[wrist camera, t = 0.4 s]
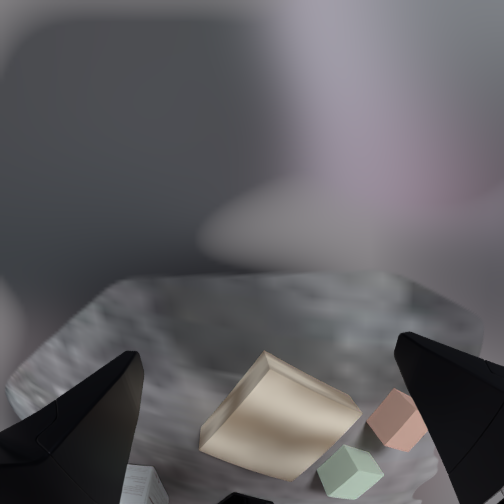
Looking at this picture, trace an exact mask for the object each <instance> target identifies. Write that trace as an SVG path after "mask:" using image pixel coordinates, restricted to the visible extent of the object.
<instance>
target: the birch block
mask: <svg viewBox="0 0 504 504" xmlns="http://www.w3.org/2000/svg"><path fill="white" fill-rule="evenodd" d="M362 414H363V413H362V412H361V411H360V409H359V408H358V407H357V405H356V404H355V403H354V401H353V400H352V399H351V397H350V396H349V395H347V394H345V393H343V392H341V391H339V390H337V389H335V388H333V387H331V386H329V385H327V384H325V383H323V382H321V381H319V380H317V379H315V378H314V377H312V376H310V375H308V374H306V373H304V372H302V371H300V370H298V369H297V368H295V367H293V366H291V365H289V364H287V363H286V362H284V361H282V360H280V359H278V358H277V357H275V356H273V355H271V354H270V353H268V352H266V351H263V352H262V354H261V355H260V356H259V357H258V359H257V360H256V361H255V363H254V364H253V365H252V366H251V368H250V369H249V370H248V372H247V373H246V374H245V375H244V377H243V378H242V379H241V380H240V382H239V383H238V384H237V385H236V386H235V388H234V389H233V390H232V391H231V393H230V394H229V395H228V396H227V397H226V399H225V400H224V401H223V402H222V403H221V405H220V406H219V407H218V408H217V409H216V410H215V412H214V413H213V414H212V415H211V416H210V417H209V419H208V420H207V421H206V422H205V423H204V424H203V426H202V427H201V431H200V442H199V451H202V452H204V453H206V454H209V455H211V456H214V457H216V458H219V459H221V460H224V461H226V462H229V463H232V464H234V465H237V466H240V467H243V468H246V469H249V470H252V471H255V472H258V473H261V474H264V475H268V476H271V477H274V478H278V479H282V480H286V481H289V482H292V481H293V480H294V479H296V478H297V477H298V476H299V475H300V474H302V473H303V472H304V471H305V470H306V469H307V468H309V467H310V466H311V465H312V464H313V463H314V462H315V461H316V460H318V459H319V458H320V457H321V456H322V455H323V454H324V453H325V452H326V451H327V450H328V449H329V448H330V447H331V446H332V445H333V444H334V443H335V442H337V441H338V440H339V438H340V437H341V436H342V435H343V434H344V433H345V432H346V431H347V430H348V429H349V428H350V427H351V426H352V425H353V424H354V423H355V422H356V421H357V420H358V418H359V417H360V416H361V415H362Z"/></svg>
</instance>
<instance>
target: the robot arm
mask: <svg viewBox="0 0 504 504" xmlns="http://www.w3.org/2000/svg"><path fill="white" fill-rule="evenodd" d="M394 357H395V360H396V362H397V365H398V367H399V370H400V372H401V375H402V377H403V380H404V382H405V385H406V387H407V389H408V391H409V393H410V395H411V397H412V399H413V401H414V403H415V405H416V407H417V409H418V411H419V413H420V415H421V417H422V419H423V421H424V423H425V425H426V427H427V429H428V431H429V433H430V435H431V437H432V440H433V442H434V444H435V446H436V448H437V450H438V453H439V455H440V457H441V459H442V462H443V464H444V466H445V468H446V471H447V473H448V474H449V478H450V481H451V483H452V485H453V488H454V490H455V493H456V495H457V498H458V501H459V503H460V504H485V503H486V502H487V501H488V500H490V499H491V498H492V497H493V496H495V495H496V494H497V493H498V492H500V491H501V492H502V494H503V496H504V366H501V365H498V364H495V363H492V362H490V361H487V360H485V361H484V359H481V358H479V357H476V356H473V355H471V354H468V353H465V352H463V351H460V350H457V349H455V348H452V347H449V346H447V345H444V344H441V343H439V342H436V341H434V340H431V339H428V338H426V337H423V336H421V335H418V334H415V333H413V332H404V333H401V334H400V335H399V336H398V340H397V343H396V347H395V350H394ZM143 381H144V369H143V366H142V362H141V358H140V355H139V353H138V352H137V351H125V352H123V353H122V354H120V355H119V356H118V357H116V358H115V359H113V360H112V361H110V362H109V363H108V364H106V365H105V366H103V367H102V368H100V369H99V370H97V371H96V372H95V373H93V374H92V375H90V376H89V377H87V378H86V379H85V380H83V381H82V382H80V383H79V384H77V385H76V386H74V387H73V388H72V389H70V390H69V391H67V392H66V393H64V394H63V395H61V396H60V397H58V398H57V399H56V400H54V401H53V402H51V403H50V404H48V405H47V406H45V407H44V408H42V409H41V410H39V411H37V412H36V413H34V414H32V415H31V416H29V417H27V418H25V419H24V420H22V421H20V422H18V423H16V424H14V425H12V426H11V427H9V428H7V429H5V430H3V431H1V432H0V504H120V499H121V494H122V489H123V483H124V478H125V473H126V469H127V464H128V459H129V455H130V450H131V446H132V442H133V437H134V433H135V429H136V425H137V421H138V416H139V411H140V403H141V395H142V388H143ZM219 504H274V503H273V502H270V501H266V500H261V499H257V498H253V497H250V496H246V495H242V494H239V493H232V494H231V495H229V496H228V497H227V498H225V499H224V500H223V501H221V502H220V503H219ZM497 504H504V498H503V499H502V500H501V501H500V502H499V503H497Z"/></svg>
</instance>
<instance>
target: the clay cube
mask: <svg viewBox="0 0 504 504" xmlns="http://www.w3.org/2000/svg"><path fill="white" fill-rule="evenodd" d="M366 422H367V423H368V424H369V426H370V427H371V428H372V430H373V431H374V432H375V434H376V435H377V437H378V438H379V439H380V441H381V442H382V443H383V445H384V446H387V447H391V448H394V449H398V450H402V451H406V452H409V451H410V450H411V449H412V447H413V446H414V445H415V444H416V443H417V442H418V441H419V440H420V439H421V438H422V436H423V435H424V434H425V433H426V432H427V431H428V429H427V427H426V425H425V423H424V421H423V419H422V417H421V415H420V413H419V411H418V409H417V407H416V405H415V403H414V401H413V399H412V397H410V396H408V395H406V394H404V393H402V392H400V391H399V390H397V389H395V388H394V389H393V390H392V391H391V392H390V394H389V395H388V396H387V397H386V399H385V400H384V401H383V402H382V403H381V405H380V406H379V407H378V408H377V409H376V410H375V412H374V413H373V414H372V415H371V416H370V417H369V418H368V420H367V421H366Z"/></svg>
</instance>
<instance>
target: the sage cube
mask: <svg viewBox="0 0 504 504" xmlns="http://www.w3.org/2000/svg"><path fill="white" fill-rule="evenodd" d="M317 472H318V474H319V477H320V479H321V482H322V484H323V487H324V489H325V492H326V494H327V496H329V497H336V498H343V499H353V500H356V499H357V498H358V497H359V496H361V495H362V494H363V493H364V492H366V491H367V490H368V489H369V488H370V487H372V486H373V485H374V484H375V483H376V482H377V481H379V480H380V479H381V478H382V477H383V476H384V474H383V472H382V471H381V469H380V468H379V466H378V465H377V463H376V462H375V460H374V459H373V457H372V456H371V454H370V453H369V452H367V451H364V450H360V449H357V448H353V447H350V446H347V445H343V446H342V447H341V448H340V449H339V450H338V451H337V452H336V453H335V454H333V455H332V456H331V457H330V458H329V459H328V460H327V461H326V462H325V463H324V464H323V465H321V466H320V467H319V468H318V469H317Z"/></svg>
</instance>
